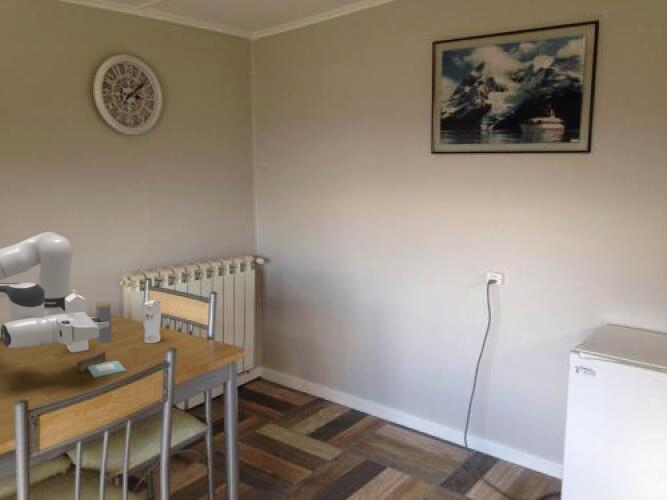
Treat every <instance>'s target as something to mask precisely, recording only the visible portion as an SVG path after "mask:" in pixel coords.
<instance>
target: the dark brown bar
mask: <svg viewBox="0 0 667 500" xmlns="http://www.w3.org/2000/svg"><path fill="white" fill-rule="evenodd" d="M106 356H107V355H106V351H105V350H100V351H96V352H95V353H93V354H91V355H89V356H86V357H85V358H83V359H80V360H79V361H78V362H76V369H77V372H79V373H80V372H81V373H83V372H85V371H87V370H88V367H90V366H91V365H96V364H101V363H103V362H104V361H105V360H107V359H106V358H107V357H106Z"/></svg>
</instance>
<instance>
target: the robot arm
mask: <svg viewBox="0 0 667 500" xmlns="http://www.w3.org/2000/svg"><path fill="white" fill-rule="evenodd" d="M72 255H73V246H72V244H71V242H70V241H69V240H68V238H67V237H64V236H63V235H60V234H58V233H57V232H54V231H46V232H45V231H44V232H42V233H39V234H37V235H34V236H31V237H30V238H27V239H25V240H22V241H21V242H18V243H14V244H11V245H9V246H6V247H2V248H0V281H1V280H5V279H7V278H11V277H14V276H17V275H19V274H22V273H25V272H28V271H29V270H31V269H32V268H34V267H36V266H38V265H40V266H39V267H40V268H39V276H38V283H39V284H38V283H37V282H21V283H19V282H17V283H16V282H0V299H2V298H7V300H8V302H9V310H10V311H9V312H10V317H9V318H10V321H9V322H5V323H3V324H2V325H1V326H0V327H1V328H0V336H1V337H0V339H1V340H2V344H3V345H4V346H5V347H6V348H8V349H21V348H31V347H38V346H40V345H43V344H51V345H52V344H62V345H66V346H67V345H70V344H73V341H74V342H79V341H85V340H88V341H89V340H93V339H96V338H97V337H98V336H99V330H100V329H102V328H105V327H109V322H108V321H102V322H100V323H98V322H97V317H96V316H89V315H88V313H87V314H86V313H85V312H77V313H71V314H65V298H66V297H68V296H69V295H71V294H72V293H71V276H70V275H71V266H72Z"/></svg>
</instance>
